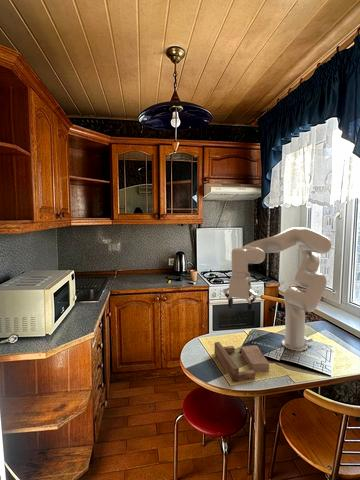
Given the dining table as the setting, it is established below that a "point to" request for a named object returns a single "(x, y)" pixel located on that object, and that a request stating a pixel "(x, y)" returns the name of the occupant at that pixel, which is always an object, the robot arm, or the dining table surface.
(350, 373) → the dining table surface
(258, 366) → the brick
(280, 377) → the dining table surface
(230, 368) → the block
